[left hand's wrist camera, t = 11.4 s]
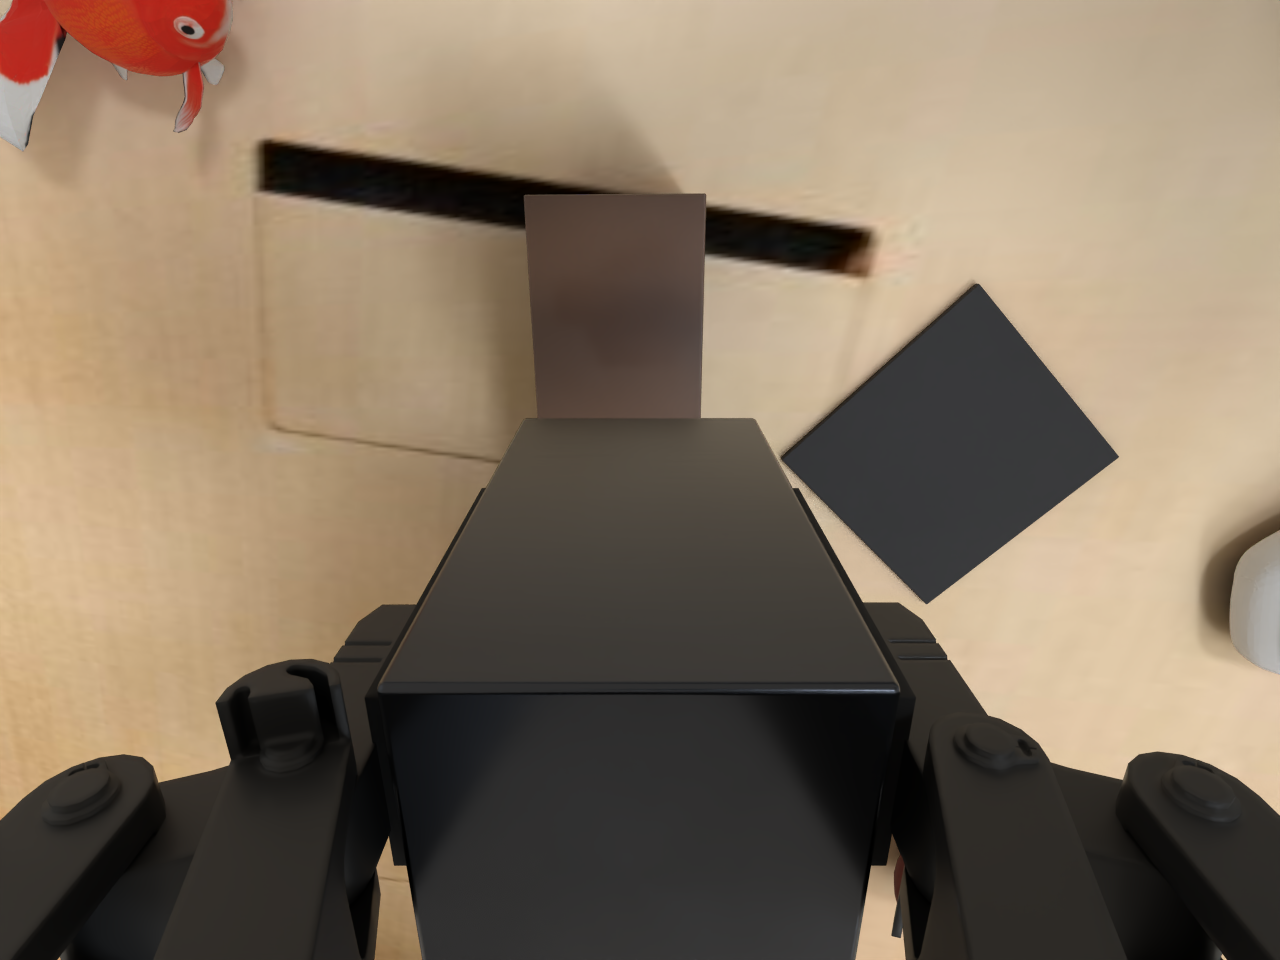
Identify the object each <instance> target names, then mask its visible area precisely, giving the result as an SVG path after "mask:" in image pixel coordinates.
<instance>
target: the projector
mask: <svg viewBox="0 0 1280 960" xmlns="http://www.w3.org/2000/svg"><path fill="white" fill-rule="evenodd" d="M1230 635H1231V640H1232V643H1233V645H1234V647H1235V648H1236V650H1237V651H1238V652H1239V653H1240V654H1241V655H1242V656H1243V657H1244V658H1246V659H1247V660H1249V661H1250V662H1251V663H1253V664H1255V665H1256V666H1258V667H1260V668H1262V669H1265V670H1267V671H1270V672H1273V673H1276V674H1280V530H1279V531H1277V532H1275V533H1273V534H1272V535H1270V536H1268V537H1266V538H1264V539H1263V540H1261V541H1260V542H1258V543H1257V544H1255V545H1253V546H1252V547H1251V548H1249V549H1248V550H1247V551H1246V552H1245V553H1244V554H1243V556H1242V557H1241V558H1240V560H1239V562H1238V564H1237V567H1236V570H1235V573H1234V581H1233V586H1232V592H1231V599H1230Z"/></svg>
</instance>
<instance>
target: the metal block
mask: <svg viewBox="0 0 1280 960" xmlns="http://www.w3.org/2000/svg"><path fill="white" fill-rule="evenodd" d="M377 694H378V700H379V706H380V711H381V717H382V723H383V729H384V735H385V741H386V747H387V753H388V759H389V765H390V771H391V777H392V783H393V789H394V794H395V800H396V806H397V812H398V818H399V824H400V830H401V836H402V842H403V848H404V854H405V860H406V866H407V871H408V877H409V883H410V889H411V895H412V901H413V907H414V913H415V919H416V925H417V931H418V937H419V943H420V948H421V954H422V960H855V958H856V952H857V946H858V940H859V934H860V928H861V922H862V916H863V910H864V904H865V898H866V893H867V887H868V881H869V875H870V869H871V863H872V857H873V851H874V845H875V839H876V833H877V827H878V821H879V815H880V809H881V803H882V797H883V791H884V785H885V779H886V773H887V767H888V761H889V755H890V749H891V743H892V738H893V732H894V726H895V720H896V714H897V708H898V702H899V696H900V687H899V684H898V682H897V680H896V678H895V676H894V674H893V672H892V671H891V669H890V667H889V665H888V663H887V661H886V660H885V658H884V656H883V654H882V652H881V650H880V648H879V647H878V645H877V643H876V641H875V639H874V637H873V636H872V634H871V632H870V630H869V628H868V626H867V624H866V623H865V621H864V619H863V617H862V615H861V613H860V612H859V610H858V608H857V606H856V604H855V602H854V600H853V599H852V597H851V595H850V593H849V591H848V589H847V588H846V586H845V584H844V582H843V580H842V578H841V577H840V575H839V573H838V571H837V569H836V567H835V565H834V564H833V562H832V560H831V558H830V556H829V554H828V553H827V551H826V549H825V547H824V545H823V543H822V541H821V540H820V538H819V536H818V534H817V532H816V530H815V529H814V527H813V525H812V523H811V521H810V519H809V518H808V516H807V514H806V512H805V510H804V508H803V506H802V505H801V503H800V501H799V499H798V497H797V495H796V494H795V492H794V490H793V488H792V486H791V484H790V482H789V481H788V479H787V477H786V475H785V473H784V471H783V470H782V468H781V466H780V464H779V462H778V460H777V459H776V457H775V455H774V453H773V451H772V449H771V447H770V446H769V444H768V442H767V440H766V438H765V436H764V435H763V433H762V431H761V429H760V427H759V425H758V423H757V422H756V420H755V419H753V418H526V419H524V420H523V422H522V423H521V425H520V427H519V429H518V431H517V433H516V434H515V436H514V438H513V440H512V442H511V443H510V445H509V447H508V449H507V451H506V453H505V454H504V456H503V458H502V460H501V462H500V463H499V465H498V467H497V469H496V471H495V473H494V474H493V476H492V478H491V480H490V482H489V484H488V485H487V487H486V489H485V491H484V493H483V494H482V496H481V498H480V500H479V502H478V504H477V505H476V507H475V509H474V511H473V513H472V514H471V516H470V518H469V520H468V522H467V524H466V525H465V527H464V529H463V531H462V533H461V535H460V536H459V538H458V540H457V542H456V544H455V545H454V547H453V549H452V551H451V553H450V555H449V556H448V558H447V560H446V562H445V564H444V565H443V567H442V569H441V571H440V573H439V575H438V576H437V578H436V580H435V582H434V584H433V586H432V587H431V589H430V591H429V593H428V595H427V596H426V598H425V600H424V602H423V604H422V606H421V607H420V609H419V611H418V613H417V615H416V616H415V618H414V620H413V622H412V624H411V626H410V627H409V629H408V631H407V633H406V635H405V637H404V638H403V640H402V642H401V644H400V646H399V647H398V649H397V651H396V653H395V655H394V657H393V658H392V660H391V662H390V664H389V666H388V667H387V669H386V671H385V673H384V675H383V677H382V678H381V680H380V682H379V685H378V687H377Z"/></svg>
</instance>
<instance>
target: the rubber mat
mask: <svg viewBox="0 0 1280 960" xmlns="http://www.w3.org/2000/svg"><path fill="white" fill-rule="evenodd" d="M1118 457H1119V456H1118V455H1117V454H1116V453H1115V451H1114V450H1113V449H1112V448H1111V446H1110V445H1109V444H1108V443H1107V441H1106V440H1105V439H1104V438H1103V436H1102V435H1101V434H1100V433H1099V432H1098V430H1097V429H1096V428H1095V427H1094V425H1093V424H1092V423H1091V422H1090V420H1089V419H1088V418H1087V417H1086V415H1085V414H1084V413H1083V412H1082V411H1081V409H1080V408H1079V407H1078V406H1077V404H1076V403H1075V402H1074V401H1073V399H1072V398H1071V397H1070V396H1069V394H1068V393H1067V392H1066V391H1065V390H1064V388H1063V387H1062V386H1061V385H1060V383H1059V382H1058V381H1057V380H1056V378H1055V377H1054V376H1053V375H1052V373H1051V372H1050V371H1049V370H1048V368H1047V367H1046V366H1045V365H1044V364H1043V362H1042V361H1041V360H1040V359H1039V357H1038V356H1037V355H1036V354H1035V352H1034V351H1033V350H1032V349H1031V347H1030V346H1029V345H1028V344H1027V343H1026V341H1025V340H1024V339H1023V338H1022V336H1021V335H1020V334H1019V333H1018V331H1017V330H1016V329H1015V328H1014V326H1013V325H1012V324H1011V323H1010V322H1009V320H1008V319H1007V318H1006V317H1005V315H1004V314H1003V313H1002V312H1001V310H1000V309H999V308H998V307H997V305H996V304H995V303H994V302H993V301H992V299H991V298H990V297H989V296H988V294H987V293H986V292H985V291H984V289H983V288H982V287H981V286H980V285H979V284H975V285H974V286H973V287H972V288H971V289H969V290H968V291H967V292H966V293H965V294H964V295H963V296H962V297H961V298H959V299H958V300H957V301H956V302H955V303H954V304H953V305H952V306H950V307H949V308H948V309H947V310H946V311H945V312H944V313H943V314H941V315H940V316H939V317H938V318H937V319H936V320H935V321H934V322H933V323H931V324H930V325H929V326H928V327H927V328H926V329H925V330H924V331H922V332H921V333H920V334H919V335H918V336H917V337H916V338H915V339H913V340H912V341H911V342H910V343H909V344H908V345H907V346H906V347H905V348H903V349H902V350H901V351H900V352H899V353H898V354H897V355H896V356H894V357H893V358H892V359H891V360H890V361H889V362H888V363H887V364H885V365H884V366H883V367H882V368H881V369H880V370H879V371H878V372H877V373H875V374H874V375H873V376H872V377H871V378H870V379H869V380H868V381H866V382H865V383H864V384H863V385H862V386H861V387H860V388H859V389H857V390H856V391H855V392H854V393H853V394H852V395H851V396H850V397H849V398H847V399H846V400H845V401H844V402H843V403H842V404H841V405H840V406H838V407H837V408H836V409H835V410H834V411H833V412H832V413H831V414H829V415H828V416H827V417H826V418H825V419H824V420H823V421H822V422H821V423H819V424H818V425H817V426H816V427H815V428H814V429H813V430H812V431H810V432H809V433H808V434H807V435H806V436H805V437H804V438H803V439H801V440H800V441H799V442H798V443H797V444H796V445H795V446H794V447H793V448H791V449H790V450H789V451H788V452H787V453H786V454H785V455H784V456H782V457H781V459H782V460H783V461H784V462H785V463H786V464H787V465H788V466H789V467H790V468H791V469H792V470H793V471H794V472H795V473H796V474H797V475H798V476H799V477H800V478H801V479H802V480H803V481H804V482H805V483H806V484H807V485H808V486H809V487H810V488H811V489H812V490H813V491H814V492H815V493H816V494H817V495H818V496H819V497H820V498H821V499H822V500H823V501H824V502H825V503H826V504H827V505H828V506H829V507H830V508H831V509H832V510H833V511H834V512H835V513H836V514H837V515H838V516H839V517H840V518H841V519H842V520H843V521H844V522H845V523H846V524H847V525H848V526H849V527H850V528H851V529H852V530H853V531H854V532H855V533H856V534H857V535H858V536H859V537H860V538H861V539H862V540H863V541H864V542H865V543H866V544H867V545H868V546H869V547H870V548H871V549H872V550H873V551H874V552H875V553H876V554H877V555H878V556H879V557H880V558H881V559H882V560H883V561H884V562H885V563H886V564H887V565H888V566H889V567H890V568H891V569H892V570H893V571H894V572H895V573H896V574H897V575H898V576H899V577H900V578H901V579H902V580H903V581H904V582H905V583H906V584H907V585H908V586H909V587H910V588H911V589H912V590H913V591H914V592H915V593H916V594H917V595H918V596H919V597H920V598H921V599H922V600H923V601H924V602H925V603H926V604H928V603H929V602H930V601H932V600H933V599H934V598H936V597H937V596H938V595H940V594H941V593H942V592H943V591H945V590H946V589H947V588H949V587H950V586H951V585H953V584H954V583H955V582H957V581H958V580H959V579H960V578H962V577H963V576H964V575H966V574H967V573H968V572H970V571H971V570H972V569H974V568H975V567H976V566H977V565H979V564H980V563H981V562H983V561H984V560H985V559H987V558H988V557H989V556H990V555H992V554H993V553H994V552H996V551H997V550H998V549H1000V548H1001V547H1002V546H1004V545H1005V544H1006V543H1007V542H1009V541H1010V540H1011V539H1013V538H1014V537H1015V536H1017V535H1018V534H1019V533H1021V532H1022V531H1023V530H1024V529H1026V528H1027V527H1028V526H1030V525H1031V524H1032V523H1034V522H1035V521H1036V520H1037V519H1039V518H1040V517H1041V516H1043V515H1044V514H1045V513H1047V512H1048V511H1049V510H1051V509H1052V508H1053V507H1054V506H1056V505H1057V504H1058V503H1060V502H1061V501H1062V500H1064V499H1065V498H1066V497H1068V496H1069V495H1070V494H1071V493H1073V492H1074V491H1075V490H1077V489H1078V488H1079V487H1081V486H1082V485H1083V484H1084V483H1086V482H1087V481H1088V480H1090V479H1091V478H1092V477H1094V476H1095V475H1096V474H1098V473H1099V472H1100V471H1101V470H1103V469H1104V468H1105V467H1107V466H1108V465H1109V464H1111V463H1112V462H1113V461H1115V460H1116V459H1117V458H1118Z"/></svg>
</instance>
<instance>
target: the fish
mask: <svg viewBox="0 0 1280 960" xmlns="http://www.w3.org/2000/svg"><path fill="white" fill-rule="evenodd" d="M232 21H233V8H232V0H12V3H11V6H10V7H9V9H8V10H7V12H6V13H5V14H4V15H3V16H2V18H1V19H0V137H1V138H3V139H4V140H6V141H7V142H9V143H11V144H12V145H14V146H15V147H17V148H18V149H20V150H22V151H24V149H25V148H26V146H27V145H28V141H29V136H30V130H31V125H32V119H33V115H34V113H35V110H36V108H37V106H38V103H39V101H40V99H41V96H42V94H43V92H44V89H45V87H46V84H47V82H48V80H49V77H50V75H51V72H52V70H53V67H54V65H55V62H56V60H57V58H58V55H59V53H60V50H61V48H62V45H63V43H64V41H65V38H66V33H67V32H68V33H69V34H70V35H71V36H72V37H74V38H75V39H76V40H77V41H78V42H80V43H81V44H82V45H83V46H84V47H86V48H87V49H88V50H90V51H91V52H92V53H94V54H96V55H98V56H99V57H101V58H103V59H105V60H107V61H109V62H111V63H112V64H113V66H114V67H115V69H116V70H117V72H118V73H119V75H120V76H121V77H122V78H123V79H125V80H127V70H130V71H133V72H137V73H142V74H148V75H155V76H173V75H177V74H182V73H183V83H184V90H185V98H184V102H183V104H182V106H181V109H180V111H179V112H178V115H177V117H176V121H175V129H174V130H173V131H174V132H178V133H179V132H182V131H185V130H187V128H188V127H189V126H190V125H191V124H192V122H193V119H194V118H195V117H196V116H197V114H198V112H199V110H200V108H201V105H202V97H203V90H204V86H203V79H202V73H201V71H202V72H203V74H204V76H205V77H206V79H207V81H208V82H209V83H210V84H213V85H216V84H218V83H219V81H220V79H221V77H222V75H223V72H224V65H223V64H222V63H221V62H219V61H218V60H216V59H215V58H216V56H217V55H218V54H219V53H220V52H221V51H222V50H223V48H224V45H225V43H226V40H227V38H228V35H229V32H230V29H231V25H232Z"/></svg>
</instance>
